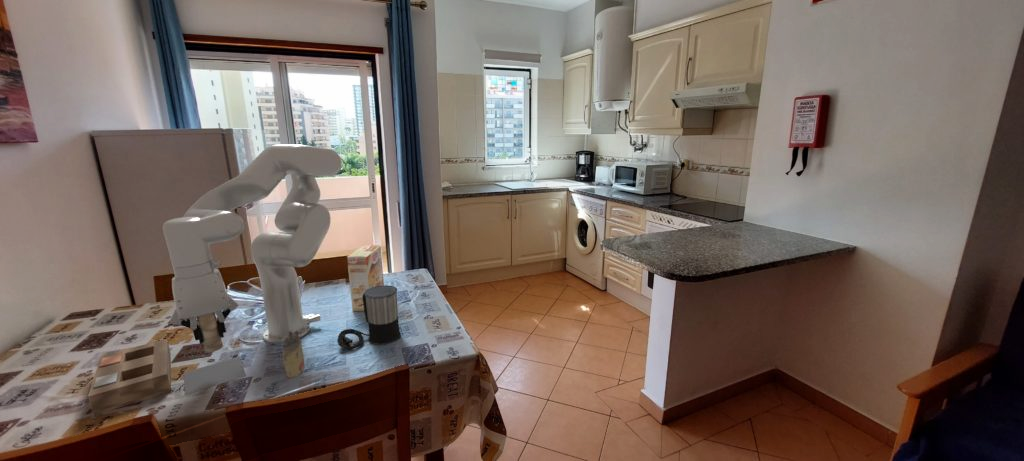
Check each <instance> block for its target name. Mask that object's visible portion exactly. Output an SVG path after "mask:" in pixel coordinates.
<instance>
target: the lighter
mask: <svg viewBox="0 0 1024 461" xmlns="http://www.w3.org/2000/svg"><path fill="white" fill-rule="evenodd" d="M289 336H290V338H289ZM283 343H284V344H283V345H282V358H283V363H284V371H285V377H286V378H295V377H297V376H300V375H301V374H302V371H303V369H304V367H305V360H304V359H305V358H304V351H303V350H304V349H303V344H302V340H301V337H299V336H298V331H295V333H294V334H292V331H290V332H289V335H288V337H287V338H286V339H285V340H284V342H283Z"/></svg>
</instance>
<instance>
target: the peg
mask: <svg viewBox="0 0 1024 461" xmlns="http://www.w3.org/2000/svg"><path fill="white" fill-rule="evenodd" d="M196 320H197V323H198V325H199V327H200V330H201V334H202V338H203V342H204V343H203V346H204V349H205V350H204V351H205V352H206V353H213V352H216V351H220V349H222V348H223V346H224V345H223V340H222V337H220V333H219V329H218V325H217V315H216V313H215V312H214V313H210V314H205V315H202V316H199V317H196Z"/></svg>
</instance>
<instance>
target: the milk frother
mask: <svg viewBox="0 0 1024 461" xmlns="http://www.w3.org/2000/svg"><path fill="white" fill-rule="evenodd" d="M397 292H398V287H396V286H393V285H389V284H388V285H387V284H384V285H382V286H376V287H372V288H369V289H367V290H366V291H365V292H364V293H363V305H364V311H363V312H364V316H365V317H364V318H365V319H364V320H365V321H366V323H368V325H367V326H368V334H367V333H364V332H362V331H360V330H357V329H355V328H346V329H343V330H341V331H340V332H339V334H338V336H337V344H338V346H339V347H340V348H342V349H344V350H354V349H357V348H359V347H360V346H361V345H363V343H364V336H366V337H368V341H369V342H370V344H374V345H387V344H391V343H393V342H396V341H397V340H398V339H399V338H400V337H401V331H400V322H399V308H398V307H399V306H398V293H397ZM346 335H355V336H356V337H358V341H357V342H355V343H354V344H353V341H354V340H353V339H350V338H349V337H348V336H346Z"/></svg>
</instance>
